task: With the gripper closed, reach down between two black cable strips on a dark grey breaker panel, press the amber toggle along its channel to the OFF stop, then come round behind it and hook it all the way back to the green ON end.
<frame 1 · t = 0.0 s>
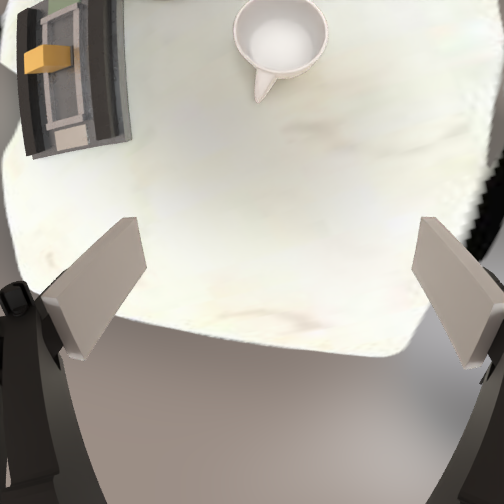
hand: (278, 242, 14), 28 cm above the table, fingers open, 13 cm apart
mug: (277, 59, 34), on the table
lever: (49, 59, 30), point 6 cm above the table, slide at 4.0 cm
panel: (72, 65, 35), on the table
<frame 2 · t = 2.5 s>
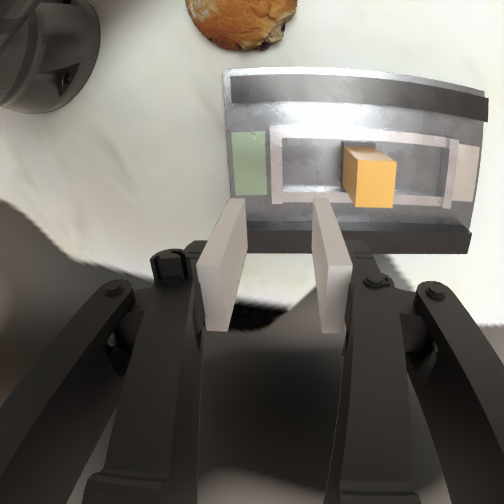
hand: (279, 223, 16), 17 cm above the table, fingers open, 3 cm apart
lever: (365, 173, 25), point 5 cm above the table, slide at 4.0 cm
panel: (362, 160, 30), on the table
bread roll: (245, 7, 24), on the table
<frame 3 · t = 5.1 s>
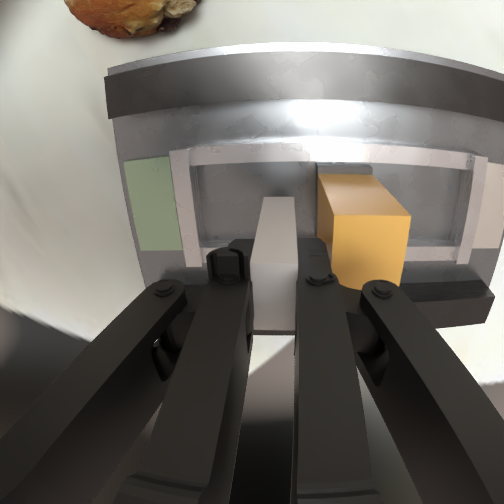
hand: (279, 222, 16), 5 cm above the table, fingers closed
lever: (353, 224, 15), point 5 cm above the table, slide at 5.2 cm, touching gripper
panel: (333, 190, 20), on the table
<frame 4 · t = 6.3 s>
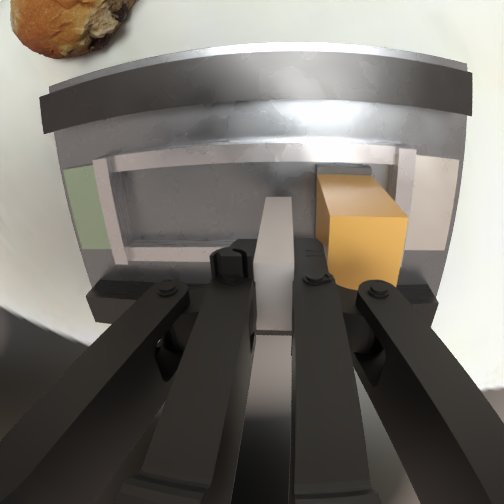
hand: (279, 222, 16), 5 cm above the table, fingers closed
lever: (351, 225, 15), point 5 cm above the table, slide at 10.2 cm, touching gripper
panel: (254, 190, 20), on the table
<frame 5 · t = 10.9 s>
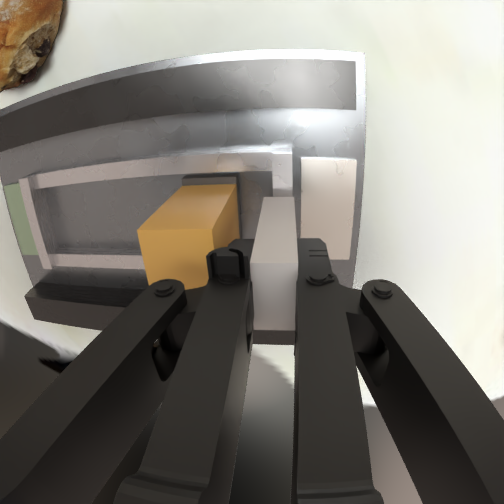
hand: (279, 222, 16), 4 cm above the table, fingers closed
lever: (200, 235, 15), point 6 cm above the table, slide at 9.6 cm, touching gripper
panel: (155, 201, 21), on the table
bread roll: (25, 31, 15), on the table
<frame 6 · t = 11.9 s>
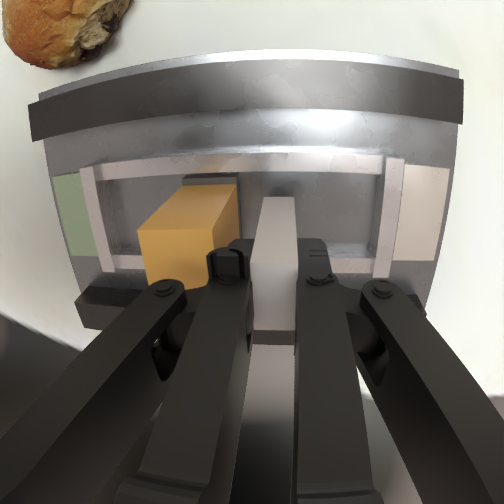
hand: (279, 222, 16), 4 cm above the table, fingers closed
lever: (200, 235, 15), point 5 cm above the table, slide at 3.8 cm, touching gripper
panel: (240, 199, 20), on the table
bread roll: (81, 5, 15), on the table
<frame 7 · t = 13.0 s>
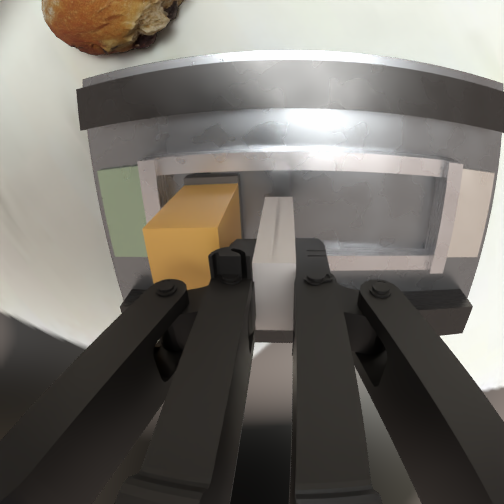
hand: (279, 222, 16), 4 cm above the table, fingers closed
lever: (203, 234, 16), point 6 cm above the table, slide at -0.1 cm, touching gripper
panel: (303, 198, 20), on the table
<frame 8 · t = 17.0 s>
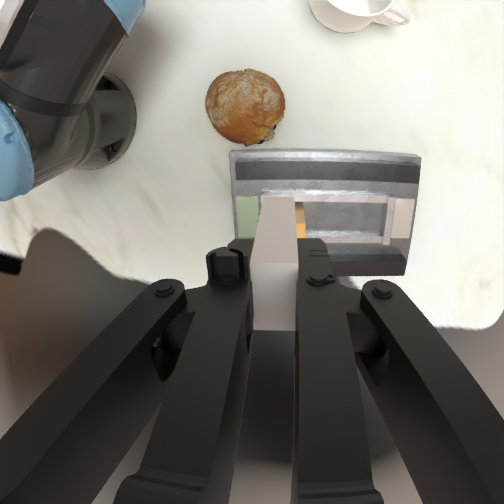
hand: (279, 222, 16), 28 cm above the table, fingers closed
mug: (352, 11, 31), on the table
lever: (291, 226, 41), point 5 cm above the table, slide at 0.0 cm
panel: (326, 211, 45), on the table
bread roll: (248, 106, 40), on the table
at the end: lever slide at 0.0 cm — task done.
